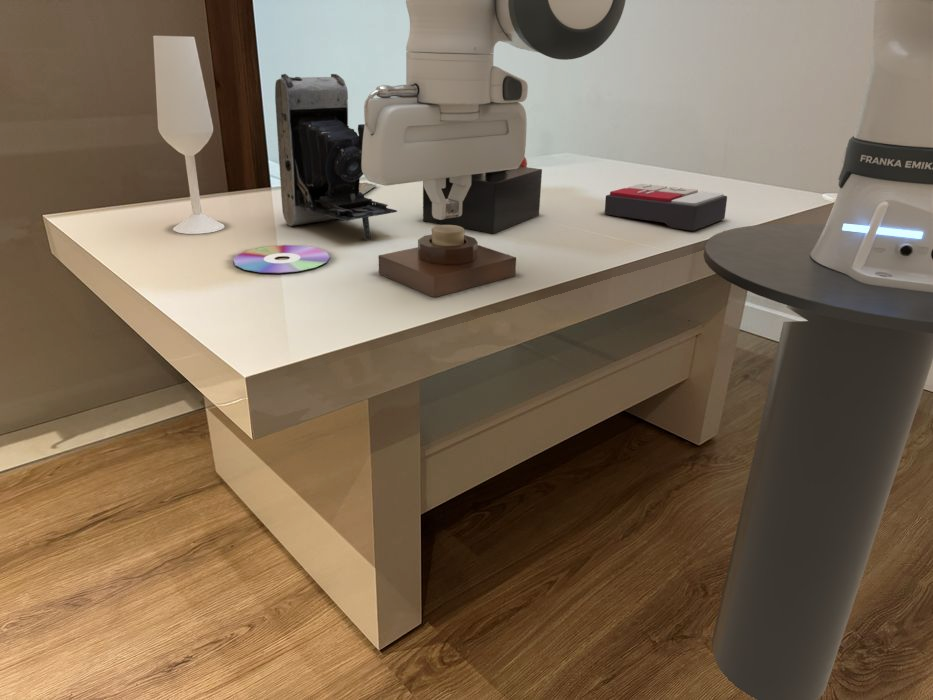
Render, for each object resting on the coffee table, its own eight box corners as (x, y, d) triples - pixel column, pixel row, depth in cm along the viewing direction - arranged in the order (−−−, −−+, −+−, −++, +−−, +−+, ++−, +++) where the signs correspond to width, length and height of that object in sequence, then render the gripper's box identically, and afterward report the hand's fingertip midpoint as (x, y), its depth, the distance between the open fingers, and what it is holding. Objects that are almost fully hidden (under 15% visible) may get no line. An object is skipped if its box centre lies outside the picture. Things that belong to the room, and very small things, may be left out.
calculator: (640, 181, 116) (729, 190, 107) (638, 207, 118) (725, 219, 108) (604, 190, 109) (696, 201, 99) (603, 218, 110) (693, 231, 101)
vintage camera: (340, 251, 89) (338, 85, 81) (279, 223, 99) (271, 72, 91) (400, 240, 96) (404, 84, 87) (337, 214, 106) (335, 72, 97)
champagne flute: (207, 235, 93) (182, 37, 83) (162, 231, 94) (132, 35, 84) (234, 223, 99) (213, 37, 89) (191, 220, 100) (166, 35, 90)
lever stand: (473, 204, 114) (475, 115, 108) (539, 215, 108) (545, 121, 103) (422, 221, 103) (422, 122, 98) (493, 233, 97) (497, 130, 92)
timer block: (458, 255, 87) (458, 224, 86) (515, 275, 81) (517, 241, 79) (378, 274, 80) (377, 239, 78) (434, 297, 73) (434, 260, 72)
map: (379, 188, 127) (379, 182, 126) (338, 206, 108) (338, 200, 107) (352, 186, 127) (352, 181, 127) (307, 204, 109) (307, 198, 108)
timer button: (449, 238, 81) (449, 223, 80) (470, 244, 79) (470, 229, 78) (425, 243, 79) (425, 227, 78) (445, 250, 76) (446, 234, 76)
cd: (331, 245, 90) (331, 244, 90) (328, 272, 80) (328, 271, 80) (240, 246, 88) (240, 245, 88) (225, 274, 78) (225, 273, 78)
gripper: (384, 88, 63) (386, 237, 69) (539, 83, 76) (530, 210, 82) (345, 83, 68) (351, 224, 73) (498, 80, 80) (493, 201, 86)
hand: (447, 217), depth 78 cm, fingers closed
